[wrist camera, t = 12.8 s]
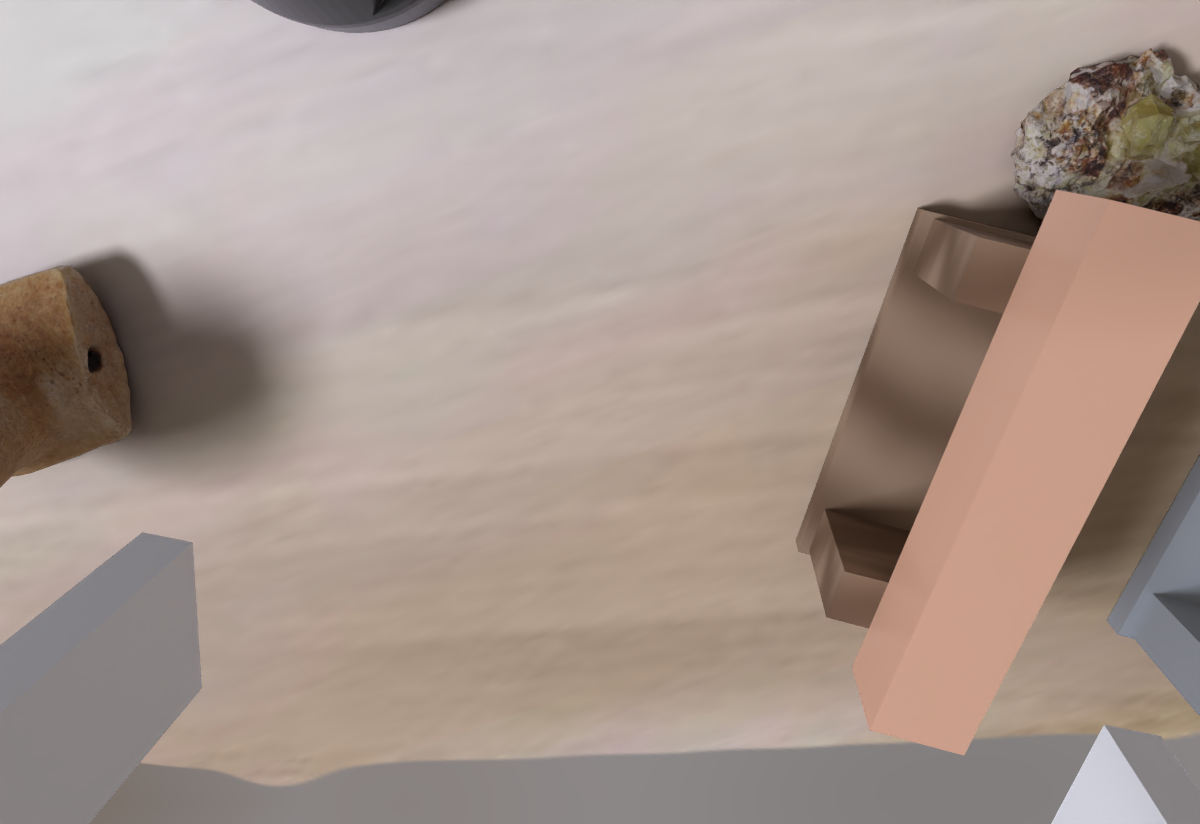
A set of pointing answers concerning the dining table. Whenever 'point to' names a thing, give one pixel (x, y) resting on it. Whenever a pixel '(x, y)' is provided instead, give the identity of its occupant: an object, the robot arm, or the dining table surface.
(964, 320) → the bronze cradle base
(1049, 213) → the salmon pink square bar
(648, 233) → the dining table surface
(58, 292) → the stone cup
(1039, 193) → the mineral rock
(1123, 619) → the stand
